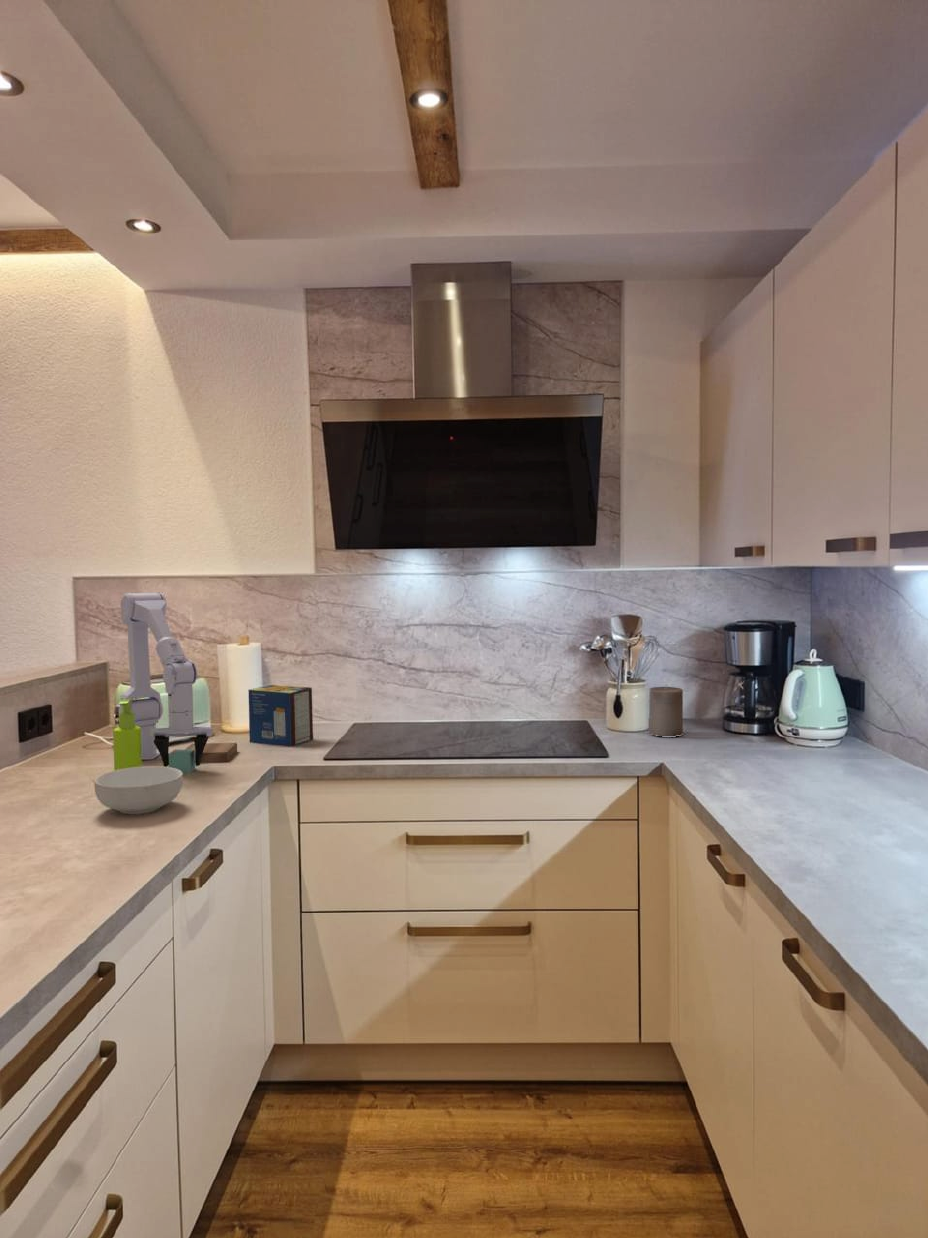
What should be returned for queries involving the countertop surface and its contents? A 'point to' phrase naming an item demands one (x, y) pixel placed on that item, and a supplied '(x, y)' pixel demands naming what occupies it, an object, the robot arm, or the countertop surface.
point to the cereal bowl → (138, 788)
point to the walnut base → (217, 752)
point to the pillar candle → (666, 711)
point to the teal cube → (182, 760)
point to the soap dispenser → (127, 739)
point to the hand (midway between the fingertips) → (182, 765)
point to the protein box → (280, 715)
